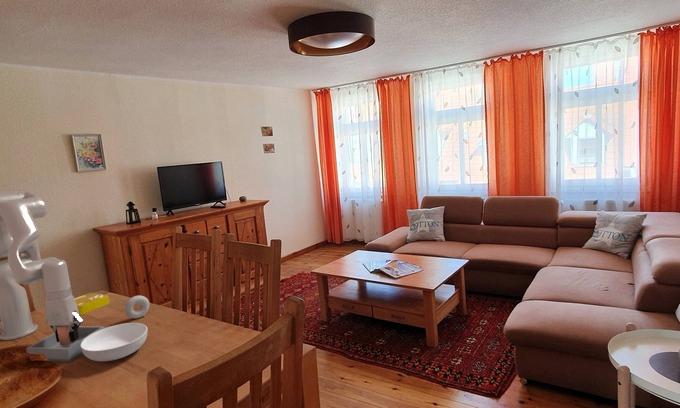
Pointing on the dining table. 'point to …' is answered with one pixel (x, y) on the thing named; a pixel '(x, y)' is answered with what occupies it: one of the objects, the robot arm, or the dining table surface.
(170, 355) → the dining table surface
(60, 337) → the pinkish-brown rounded piece
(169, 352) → the dining table surface
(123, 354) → the serving bowl
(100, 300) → the element tile
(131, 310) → the donut
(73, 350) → the bin
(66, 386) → the dining table surface
